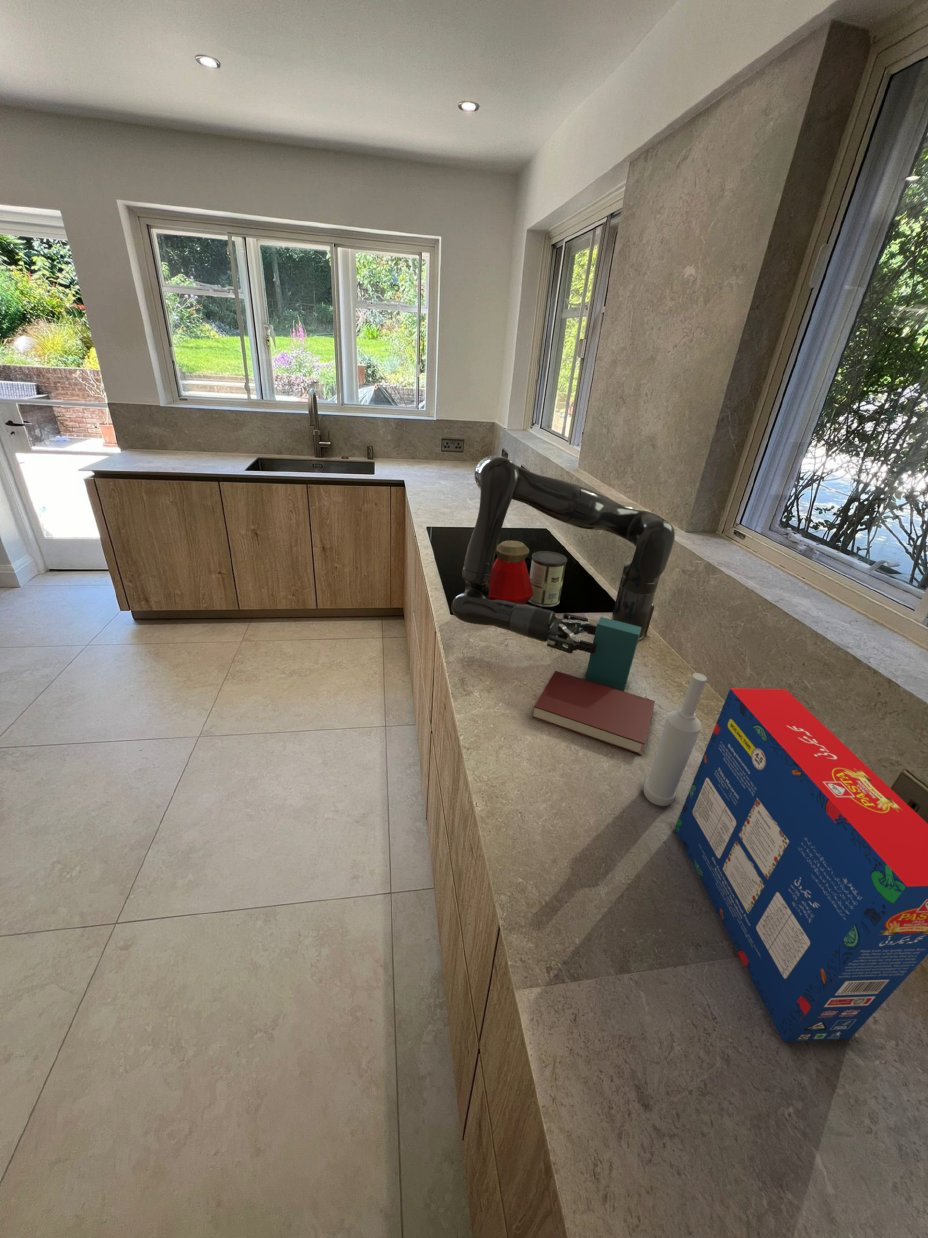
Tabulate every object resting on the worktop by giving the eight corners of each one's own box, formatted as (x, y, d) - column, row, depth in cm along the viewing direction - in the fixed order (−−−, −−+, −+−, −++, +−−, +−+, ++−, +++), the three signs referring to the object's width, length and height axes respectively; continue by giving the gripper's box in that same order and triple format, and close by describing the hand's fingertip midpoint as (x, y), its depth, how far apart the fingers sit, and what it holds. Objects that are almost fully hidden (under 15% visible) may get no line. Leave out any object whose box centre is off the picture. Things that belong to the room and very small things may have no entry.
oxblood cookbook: (532, 717, 102) (534, 706, 100) (553, 681, 114) (555, 670, 113) (641, 755, 94) (645, 743, 93) (651, 712, 106) (655, 701, 105)
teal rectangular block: (584, 679, 115) (597, 623, 108) (588, 671, 119) (600, 616, 111) (623, 691, 112) (638, 634, 105) (626, 683, 115) (641, 627, 108)
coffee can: (539, 589, 159) (545, 548, 152) (566, 600, 153) (573, 558, 146) (519, 598, 152) (525, 555, 145) (546, 610, 146) (554, 566, 139)
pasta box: (850, 1039, 56) (991, 884, 42) (783, 1042, 55) (906, 886, 42) (721, 828, 80) (785, 689, 67) (674, 829, 80) (730, 688, 66)
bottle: (673, 789, 87) (716, 671, 75) (674, 811, 83) (720, 690, 71) (642, 780, 88) (680, 664, 77) (642, 801, 84) (682, 682, 72)
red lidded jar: (522, 596, 153) (530, 534, 144) (538, 617, 142) (548, 551, 132) (473, 599, 149) (478, 535, 140) (485, 620, 138) (492, 552, 129)
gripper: (524, 620, 110) (596, 640, 104) (543, 597, 122) (609, 613, 116) (520, 648, 114) (589, 669, 108) (539, 623, 125) (603, 641, 119)
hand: (599, 640), depth 112 cm, fingers open, 8 cm apart
